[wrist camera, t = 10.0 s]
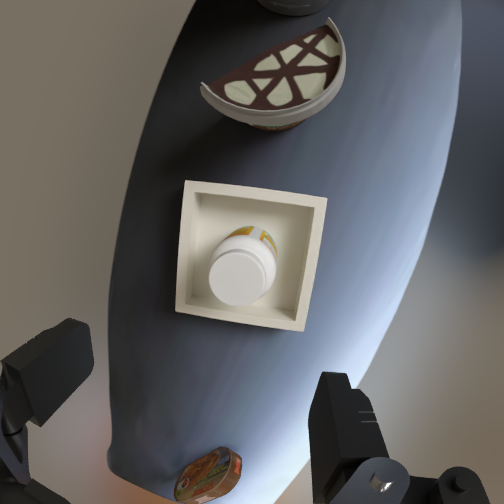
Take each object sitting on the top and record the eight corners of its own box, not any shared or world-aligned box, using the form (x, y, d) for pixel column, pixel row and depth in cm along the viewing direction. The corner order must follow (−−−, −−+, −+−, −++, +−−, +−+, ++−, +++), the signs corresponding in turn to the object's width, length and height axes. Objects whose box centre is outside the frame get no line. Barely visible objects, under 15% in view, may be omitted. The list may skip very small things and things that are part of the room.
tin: (233, 438, 37) (223, 481, 28) (249, 448, 37) (242, 490, 29) (179, 469, 40) (166, 503, 31) (193, 477, 40) (182, 512, 32)
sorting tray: (195, 181, 30) (185, 180, 26) (321, 197, 29) (327, 198, 25) (185, 299, 32) (175, 311, 29) (301, 317, 32) (303, 331, 28)
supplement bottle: (217, 266, 30) (189, 299, 21) (234, 217, 29) (211, 230, 20) (265, 285, 30) (258, 327, 21) (285, 237, 29) (287, 259, 20)
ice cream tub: (252, 165, 29) (238, 152, 19) (220, 117, 28) (194, 86, 18) (352, 108, 27) (383, 74, 17) (320, 63, 26) (334, 15, 16)
